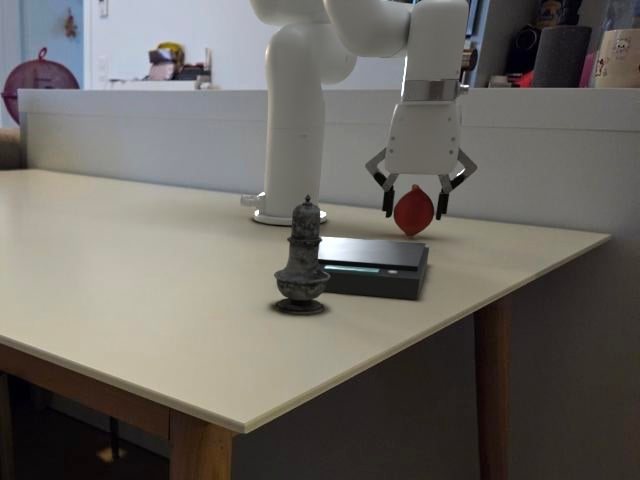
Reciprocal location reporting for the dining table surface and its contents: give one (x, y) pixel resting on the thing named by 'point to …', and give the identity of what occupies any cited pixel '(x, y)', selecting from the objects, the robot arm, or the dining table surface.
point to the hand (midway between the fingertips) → (413, 216)
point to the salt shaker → (302, 264)
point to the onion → (414, 211)
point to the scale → (373, 266)
